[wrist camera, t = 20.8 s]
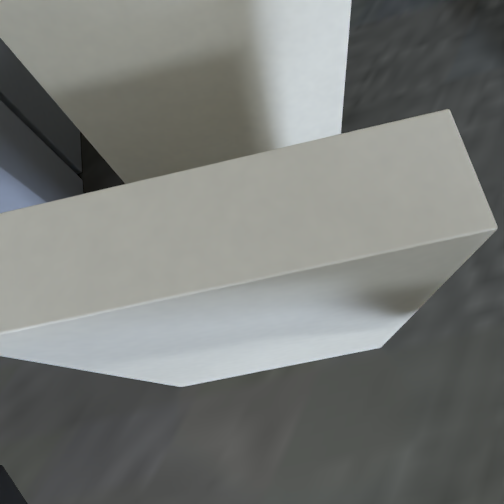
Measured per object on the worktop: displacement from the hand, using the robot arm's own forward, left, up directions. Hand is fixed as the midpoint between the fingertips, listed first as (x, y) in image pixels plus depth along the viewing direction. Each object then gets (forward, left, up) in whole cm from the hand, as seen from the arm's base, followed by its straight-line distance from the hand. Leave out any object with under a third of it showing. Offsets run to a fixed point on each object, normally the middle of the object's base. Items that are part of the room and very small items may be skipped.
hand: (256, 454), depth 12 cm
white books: (-11, +10, -10) cm, 18 cm away
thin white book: (-3, +3, -10) cm, 11 cm away
